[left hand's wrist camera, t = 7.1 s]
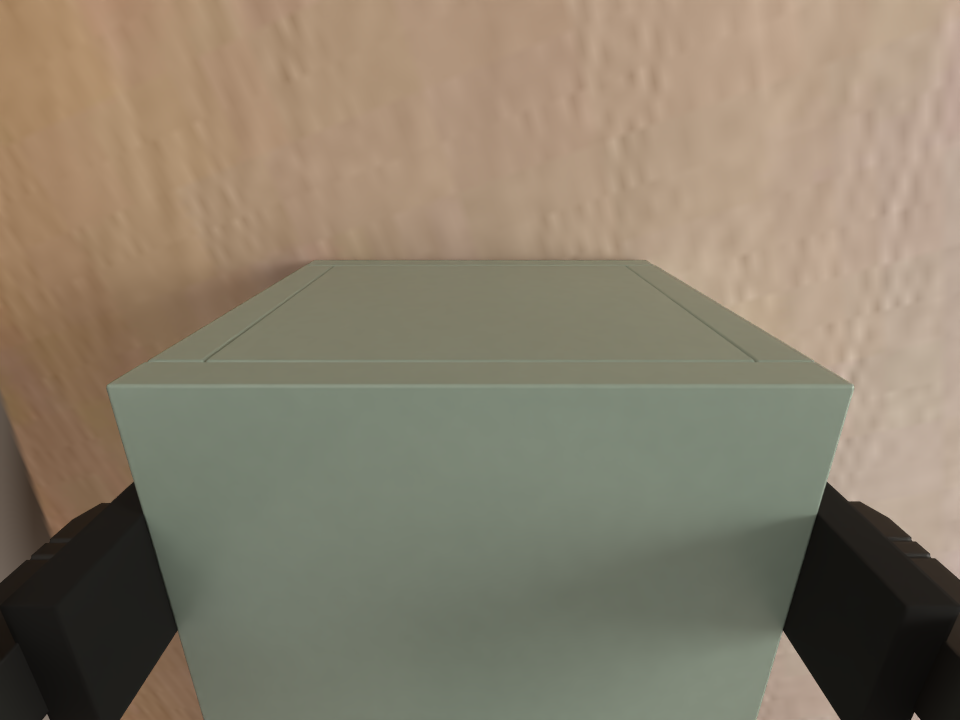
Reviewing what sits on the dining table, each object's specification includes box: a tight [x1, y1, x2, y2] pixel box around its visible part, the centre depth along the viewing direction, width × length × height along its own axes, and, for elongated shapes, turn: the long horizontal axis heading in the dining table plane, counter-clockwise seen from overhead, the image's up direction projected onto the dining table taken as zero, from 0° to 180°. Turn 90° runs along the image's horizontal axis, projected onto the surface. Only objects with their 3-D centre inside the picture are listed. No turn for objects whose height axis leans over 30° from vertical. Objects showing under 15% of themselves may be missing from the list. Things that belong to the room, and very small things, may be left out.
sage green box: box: [107, 260, 854, 720], centre depth 16 cm, size 17×12×10 cm
